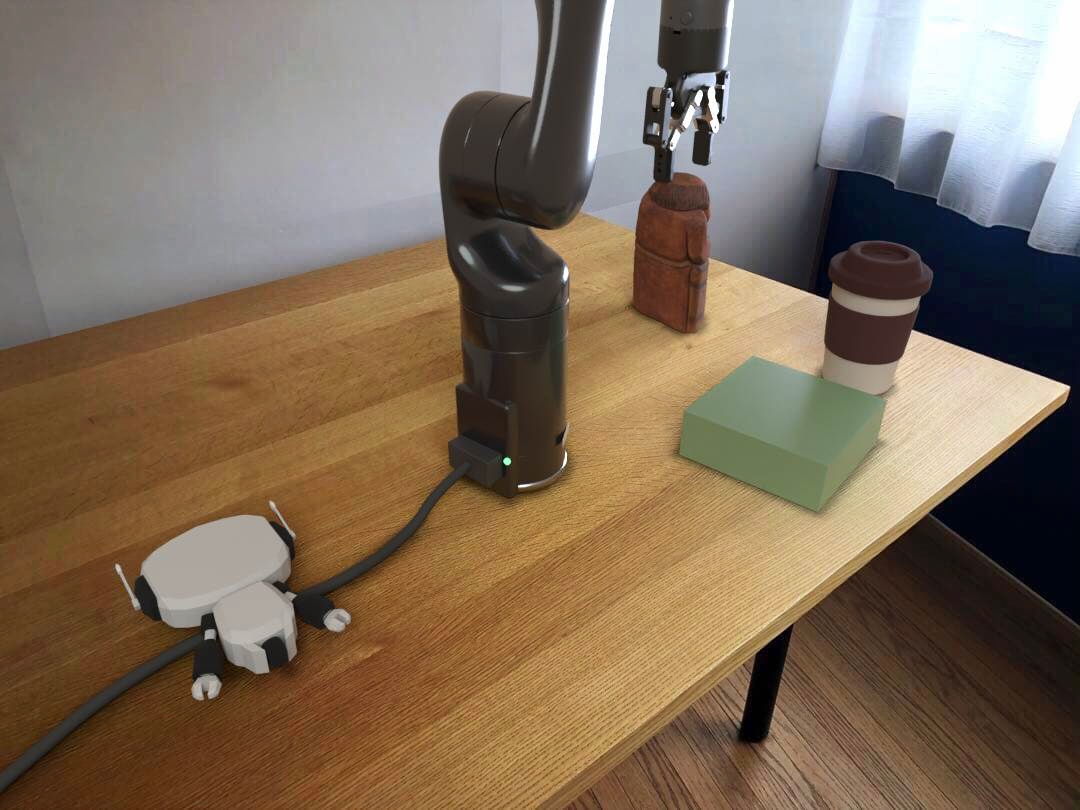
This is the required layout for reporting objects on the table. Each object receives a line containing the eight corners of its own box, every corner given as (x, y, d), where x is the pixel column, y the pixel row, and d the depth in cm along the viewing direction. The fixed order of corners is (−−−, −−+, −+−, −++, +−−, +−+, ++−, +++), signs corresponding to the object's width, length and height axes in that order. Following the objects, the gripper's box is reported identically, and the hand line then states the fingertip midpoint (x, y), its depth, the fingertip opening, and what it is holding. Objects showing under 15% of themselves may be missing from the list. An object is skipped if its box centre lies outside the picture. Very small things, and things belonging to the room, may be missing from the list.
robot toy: (365, 646, 63) (274, 531, 72) (361, 603, 60) (267, 489, 69) (198, 736, 56) (122, 596, 65) (186, 693, 53) (108, 553, 63)
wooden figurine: (721, 324, 106) (739, 180, 97) (685, 338, 103) (700, 191, 94) (654, 293, 114) (665, 157, 105) (618, 305, 111) (626, 166, 101)
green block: (817, 512, 75) (828, 466, 72) (678, 454, 82) (683, 410, 80) (876, 443, 84) (887, 399, 81) (746, 396, 92) (753, 355, 89)
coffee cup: (870, 414, 89) (902, 279, 81) (790, 377, 95) (813, 249, 87) (921, 384, 94) (956, 254, 86) (842, 351, 100) (868, 227, 93)
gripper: (698, 10, 97) (685, 154, 106) (628, 25, 88) (620, 181, 96) (759, 16, 93) (741, 165, 102) (692, 32, 84) (678, 195, 92)
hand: (682, 172), depth 99 cm, fingers open, 8 cm apart
